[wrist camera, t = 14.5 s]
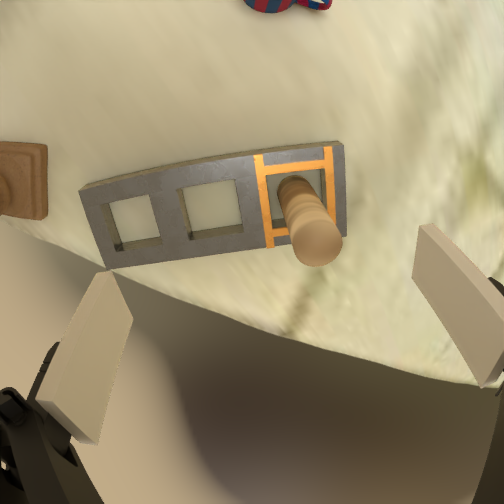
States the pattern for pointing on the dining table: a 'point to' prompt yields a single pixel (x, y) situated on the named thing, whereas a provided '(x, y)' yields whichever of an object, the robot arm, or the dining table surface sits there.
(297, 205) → the peg
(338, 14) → the dining table surface
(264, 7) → the mug
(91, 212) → the grey peg board
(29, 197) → the candle holder
